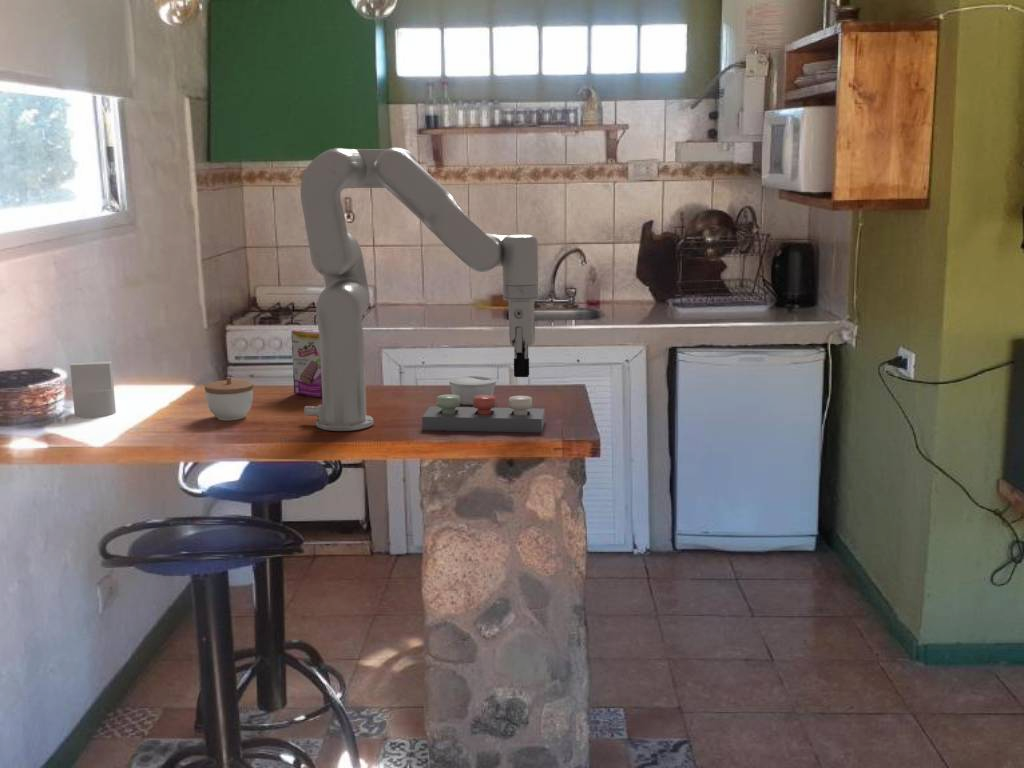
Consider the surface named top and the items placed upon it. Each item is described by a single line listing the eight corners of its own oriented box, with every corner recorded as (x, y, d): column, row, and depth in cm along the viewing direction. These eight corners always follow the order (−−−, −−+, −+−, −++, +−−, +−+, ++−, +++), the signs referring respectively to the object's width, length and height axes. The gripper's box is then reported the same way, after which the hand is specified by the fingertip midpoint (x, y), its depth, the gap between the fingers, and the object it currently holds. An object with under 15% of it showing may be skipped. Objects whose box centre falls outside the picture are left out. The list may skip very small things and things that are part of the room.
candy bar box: (292, 394, 269) (289, 330, 266) (306, 391, 273) (303, 327, 270) (327, 399, 264) (324, 333, 260) (340, 395, 268) (338, 331, 264)
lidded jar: (200, 423, 240) (198, 382, 238) (214, 412, 251) (211, 372, 249) (248, 423, 240) (246, 382, 238) (259, 412, 251) (257, 372, 249)
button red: (471, 421, 234) (471, 399, 233) (474, 416, 239) (474, 394, 238) (494, 422, 234) (494, 400, 233) (497, 416, 238) (496, 395, 238)
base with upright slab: (118, 408, 255) (114, 358, 252) (112, 417, 246) (108, 365, 244) (78, 410, 253) (73, 360, 250) (71, 419, 244) (66, 367, 242)
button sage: (435, 420, 235) (435, 399, 234) (439, 415, 240) (439, 394, 239) (458, 421, 234) (457, 399, 233) (461, 416, 239) (461, 394, 238)
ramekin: (500, 397, 266) (500, 376, 264) (488, 407, 255) (488, 385, 254) (457, 395, 268) (457, 374, 267) (444, 405, 258) (443, 383, 257)
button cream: (508, 422, 233) (507, 400, 232) (510, 417, 238) (510, 395, 237) (530, 422, 233) (530, 400, 232) (532, 417, 238) (532, 395, 237)
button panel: (422, 430, 233) (422, 416, 232) (430, 419, 243) (430, 406, 242) (541, 432, 230) (541, 419, 230) (544, 421, 240) (544, 408, 240)
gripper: (535, 296, 222) (536, 383, 226) (540, 288, 237) (541, 370, 240) (499, 297, 223) (500, 383, 227) (506, 288, 237) (508, 369, 241)
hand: (521, 376), depth 234 cm, fingers closed
